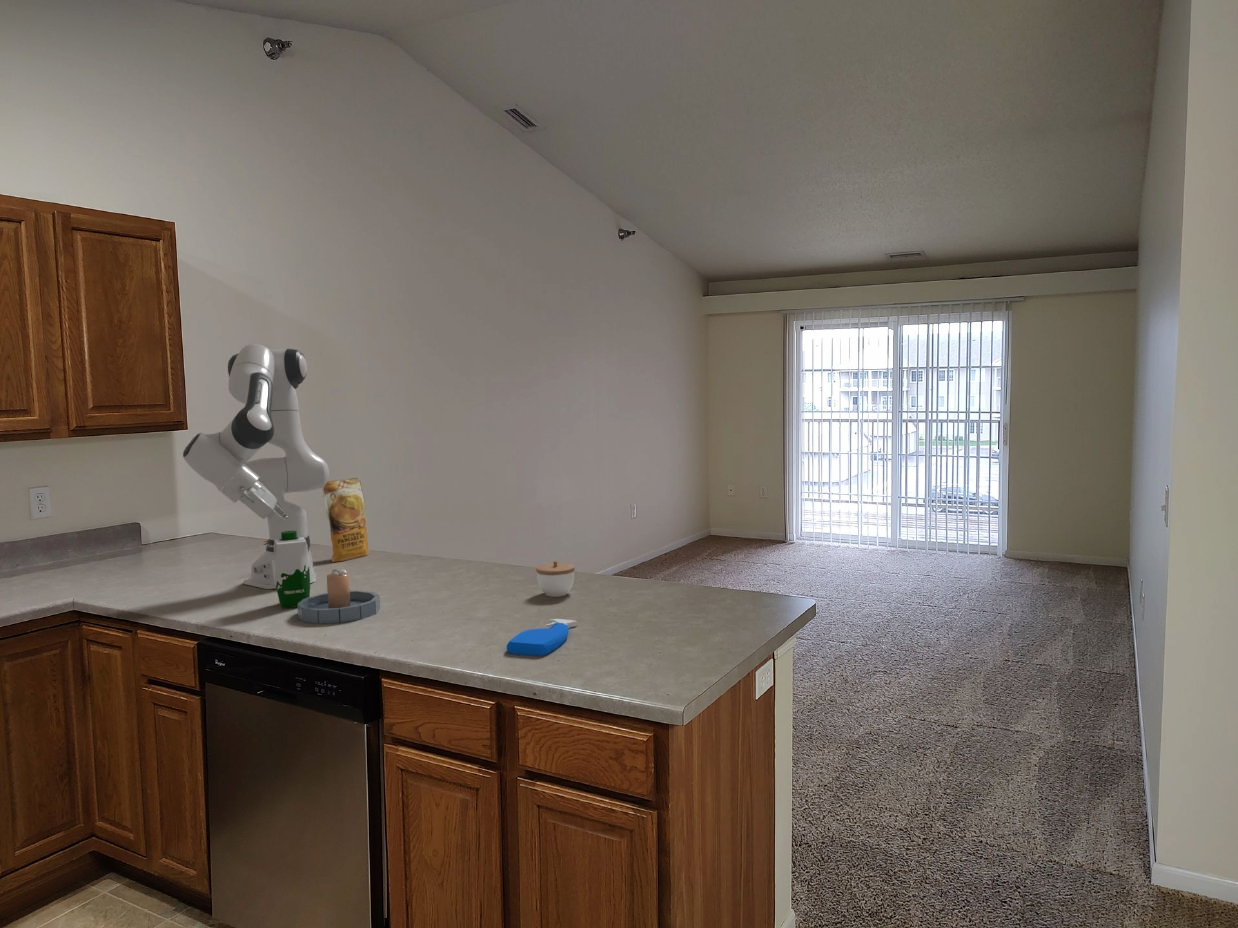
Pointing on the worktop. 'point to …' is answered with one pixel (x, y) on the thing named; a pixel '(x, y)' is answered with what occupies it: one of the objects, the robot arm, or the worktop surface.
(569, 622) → the spray bottle
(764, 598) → the worktop surface
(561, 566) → the lidded jar
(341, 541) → the pancake mix bag
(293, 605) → the milk carton
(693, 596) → the worktop surface
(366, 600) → the slate bowl
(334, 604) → the pebble cup
